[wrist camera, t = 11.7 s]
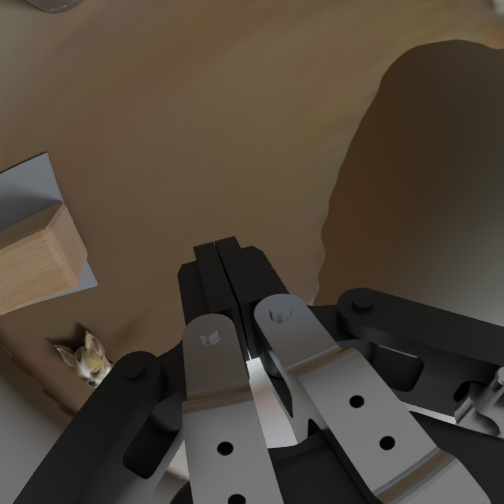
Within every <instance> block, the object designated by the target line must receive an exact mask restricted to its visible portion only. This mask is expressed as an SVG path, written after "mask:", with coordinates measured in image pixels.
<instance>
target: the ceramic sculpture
mask: <svg viewBox="0 0 504 504" xmlns="http://www.w3.org/2000/svg"><path fill="white" fill-rule="evenodd" d="M84 344H85V346H83V347H80V348H79V349H78V350H77V351H76V353H75V352H74V351H73V350H72V349H71V348H70V347H67V346H62V345H54V347H55V348H56V349H57V350H58V351H59V353H60V355H61V356H62V357H63V360H64V361H65V362H66V363H67V364H68V366H69V367H72V368H74V371H75V373H76V374H77V375H79V377H80V378H81V379H83V380H84V381H85V382H87V384H88V385H89V386H90V387H96V388H97V387H98V385H99V384H100V383H101V382H102V380H103V379H104V378H105V376H106V375H107V374H108V373H109V371H110V370H111V369H112V367H113V366H114V365H115V364H113V363H111V364H110V363H109V362H108V360H107V359H106V358H105V351H104V349H103V346H102V344H101V342H100V340H99V339H98V338H97V337H96V336H95V335H94V334H93V333H91V332H89V331H88V330H85V337H84Z"/></svg>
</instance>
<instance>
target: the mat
mask: <svg viewBox="0 0 504 504" xmlns="http://www.w3.org/2000/svg"><path fill="white" fill-rule="evenodd" d="M58 203H64V202H63V199H62V197H61V194H60V191H59V188H58V185H57V182H56V179H55V176H54V173H53V169H52V166H51V163H50V159H49V156H48V153H44V154H42V155H40V156H37V157H35V158H33V159H31V160H28V161H26V162H24V163H22V164H20V165H17V166H15V167H13V168H11V169H9V170H7V171H5V172H3V173H1V174H0V231H2V230H4V229H6V228H8V227H10V226H12V225H14V224H16V223H18V222H20V221H22V220H24V219H26V218H28V217H30V216H32V215H34V214H36V213H38V212H40V211H42V210H45V209H47V208H49V207H51V206H53V205H55V204H58ZM95 286H98V283H97V281H96V279H95V277H94V275H93V273H92V270H91V268H90V266H89V264H88V262H87V259H86V261H85V264H84V267H83V270H82V273H81V277H80V280H79V283H78V285H77V286H76V287H75V288H74V289H72V290H69V291H66V292H63V293H60V294H58V295H55V296H52V297H49V298H46V299H44V300H48V299H52V298H55V297H59V296H62V295H66V294H69V293H73V292H77V291H80V290H84V289H88V288H91V287H95ZM44 300H41V301H44ZM41 301H38V302H41ZM35 303H37V302H35ZM32 304H34V303H32Z"/></svg>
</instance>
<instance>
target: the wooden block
mask: <svg viewBox="0 0 504 504" xmlns="http://www.w3.org/2000/svg"><path fill="white" fill-rule="evenodd" d="M86 258H87V250H86V248H85V246H84V244H83V242H82V240H81V238H80V235H79V233H78V231H77V229H76V227H75V225H74V222H73V220H72V218H71V216H70V214H69V211H68V209H67V207H66V205H65V204H64V203H58V204H55V205H53V206H51V207H49V208H47V209H45V210H42V211H40V212H38V213H36V214H34V215H32V216H30V217H28V218H26V219H24V220H22V221H20V222H18V223H16V224H14V225H12V226H10V227H8V228H6V229H4V230H2V231H0V315H2V314H5V313H8V312H10V311H13V310H16V309H19V308H21V307H24V306H27V305H30V304H32V303H35V302H38V301H41V300H44V299H46V298H49V297H52V296H55V295H58V294H60V293H63V292H66V291H69V290H72V289H74V288H75V287H76V286H77V285H78V283H79V280H80V277H81V273H82V270H83V267H84V264H85V261H86Z"/></svg>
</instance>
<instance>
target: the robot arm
mask: <svg viewBox="0 0 504 504" xmlns="http://www.w3.org/2000/svg"><path fill="white" fill-rule="evenodd" d="M27 1H29V2H30V3H32V4H33V5H35V6H37V7H38V8H40V9H42V10H43V11H45V12H48V13H60V12H63V11H67V10H69V9H71V8H73V7H74V6H76V5H77V4H79V3H80V2H81V1H82V0H27ZM214 242H215V246H214V243H213V242H210V243H206V244H202V245H198V246H195V247H193V249H194V253H195V257H196V261H193V262H190V263H186V264H182V266H181V268H180V270H179V272H178V281H179V287H180V293H181V300H182V306H183V312H184V318H185V323H186V327H185V329H184V331H183V336H182V340H181V341H180V343H179V344H178V345H177V346H175V347H174V348H173V349H171V350H170V351H168V352H166V353H164V354H162V355H161V356H159V357H156V356H154V355H153V354H151V353H149V352H145V351H137V352H132V353H129V354H127V355H125V356H124V357H122V358H121V359H120V360H118V361H117V363H116V364H115V365H114V366H113V367H112V369H111V370H110V371H109V373H108V374H107V375H106V376H105V378H104V379H103V380H102V382H101V383H100V384H99V385H98V387H97V388H96V389H95V391H94V392H93V393H92V395H91V396H90V397H89V398H88V400H87V401H86V402H85V404H84V405H83V406H82V408H81V409H80V410H79V412H78V413H77V414H76V416H75V417H74V418H73V420H72V421H71V422H70V424H69V425H68V426H67V428H66V429H65V430H64V432H63V433H62V435H61V436H60V437H59V439H58V440H57V441H56V443H55V444H54V446H53V447H52V448H51V450H50V451H49V452H48V454H47V455H46V457H45V458H44V459H43V461H42V462H41V464H40V465H39V466H38V468H37V469H36V471H35V472H34V473H33V475H32V476H31V478H30V479H29V481H28V482H27V484H26V485H25V486H24V488H23V489H22V491H21V493H20V494H19V495H18V497H17V498H16V500H15V501H14V503H13V504H146V502H147V500H148V499H149V497H150V496H151V494H152V492H153V491H154V489H155V487H156V486H157V484H158V482H159V481H160V479H161V477H162V476H163V474H164V473H165V471H166V469H167V468H168V466H169V464H170V462H171V461H172V459H173V457H174V456H175V454H176V452H177V451H178V449H179V447H180V446H181V444H182V442H183V440H184V439H185V447H186V455H187V463H188V470H189V477H190V481H189V482H188V483H186V484H185V485H184V486H183V487H182V488H181V489H180V490H179V491H178V492H177V494H176V495H175V496H174V498H173V499H172V501H171V502H170V504H504V327H502V326H499V325H495V324H492V323H488V322H485V321H481V320H477V319H474V318H470V317H467V316H463V315H460V314H456V313H452V312H449V311H445V310H442V309H439V308H435V307H431V306H428V305H424V304H421V303H418V302H414V301H410V300H407V299H404V298H400V297H396V296H393V295H390V294H386V293H383V292H379V291H376V290H372V289H368V288H354V289H350V290H348V291H346V292H344V293H343V294H342V295H341V296H340V297H339V299H338V302H337V305H326V306H309V305H306V304H305V303H304V302H303V301H302V300H301V299H300V298H298V297H296V296H293V295H290V294H289V292H288V291H287V289H286V287H285V286H284V284H283V283H282V281H281V279H280V278H279V276H278V275H277V273H276V272H275V270H274V269H273V267H272V265H271V264H270V262H269V261H268V259H267V257H266V256H265V254H264V253H263V251H261V250H259V249H258V248H256V247H254V246H249V247H245V248H242V249H241V247H240V245H239V243H238V241H237V240H236V238H235V236H232V237H229V238H225V239H221V240H217V241H214ZM379 345H383V346H385V347H389V348H392V349H395V350H398V351H401V352H404V353H407V354H411V355H414V356H417V357H418V358H415V357H410V356H407V355H404V354H401V353H398V352H394V351H392V350H388V349H385V348H382V347H379ZM247 348H248V350H247ZM248 351H249V353H250V356H251V359H254V358H258V357H260V360H261V362H262V365H263V368H264V373H265V377H266V379H267V381H268V383H269V385H270V387H271V389H272V391H273V393H274V394H275V396H276V398H277V400H278V402H279V404H280V406H281V407H282V409H283V411H284V413H285V415H286V417H287V418H288V420H289V422H290V424H291V426H292V429H293V432H294V435H295V438H296V440H297V442H298V444H297V445H294V446H288V447H279V448H268V449H267V445H266V442H265V438H264V435H263V431H262V428H261V424H260V421H259V417H258V413H257V410H256V406H255V402H254V399H253V395H252V391H251V387H250V384H249V372H248V368H247V364H246V361H248V360H250V359H249V355H248ZM401 401H402V402H405V403H409V404H412V405H415V406H418V407H422V408H425V409H428V410H431V411H435V412H438V413H441V414H445V415H449V416H452V417H455V420H456V425H454V424H451V423H448V422H444V421H441V420H438V419H435V418H432V417H429V416H426V415H423V414H420V413H417V412H413V411H408V410H407V409H406V407H405V406H404V405H403V404H402V403H401Z"/></svg>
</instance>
